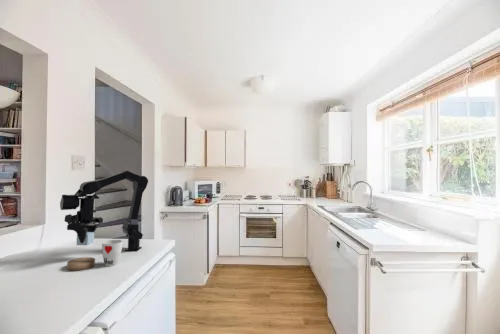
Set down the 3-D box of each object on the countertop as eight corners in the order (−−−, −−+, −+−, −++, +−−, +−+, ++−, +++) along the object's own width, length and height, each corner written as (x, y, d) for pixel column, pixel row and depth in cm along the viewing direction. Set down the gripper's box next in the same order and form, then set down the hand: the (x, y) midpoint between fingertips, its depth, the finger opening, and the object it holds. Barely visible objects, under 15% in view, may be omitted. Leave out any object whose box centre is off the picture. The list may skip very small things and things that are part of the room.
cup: (97, 265, 116) (98, 242, 116) (114, 260, 123) (115, 238, 123) (108, 268, 112) (109, 245, 112) (125, 263, 119) (126, 241, 119)
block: (83, 242, 127) (83, 231, 127) (93, 242, 127) (94, 232, 127) (76, 245, 122) (76, 234, 122) (87, 245, 122) (87, 234, 122)
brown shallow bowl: (76, 262, 118) (77, 256, 118) (99, 263, 118) (99, 257, 118) (61, 270, 108) (61, 264, 108) (85, 271, 108) (85, 265, 108)
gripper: (82, 205, 134) (80, 236, 133) (55, 210, 115) (53, 246, 115) (104, 206, 134) (102, 236, 134) (81, 211, 115) (79, 247, 115)
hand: (85, 241), depth 124 cm, fingers closed on block, 5 cm apart
